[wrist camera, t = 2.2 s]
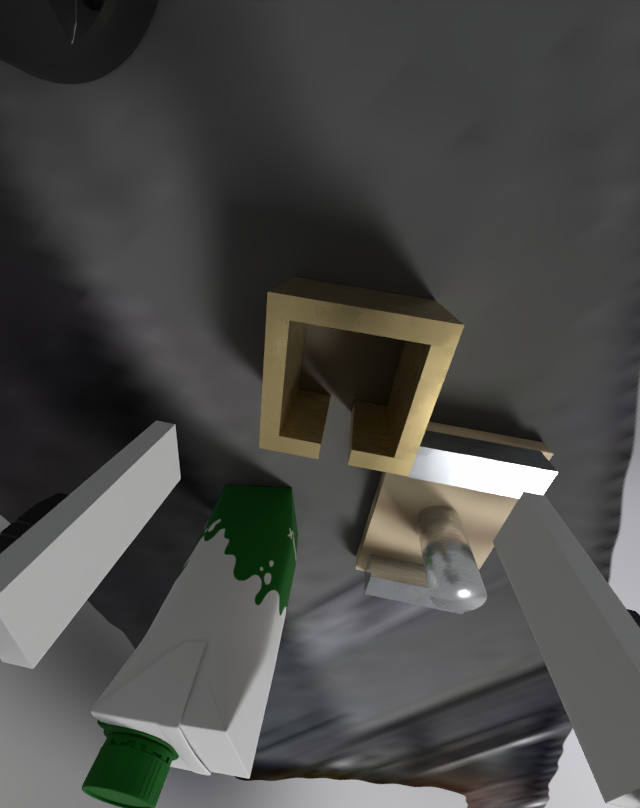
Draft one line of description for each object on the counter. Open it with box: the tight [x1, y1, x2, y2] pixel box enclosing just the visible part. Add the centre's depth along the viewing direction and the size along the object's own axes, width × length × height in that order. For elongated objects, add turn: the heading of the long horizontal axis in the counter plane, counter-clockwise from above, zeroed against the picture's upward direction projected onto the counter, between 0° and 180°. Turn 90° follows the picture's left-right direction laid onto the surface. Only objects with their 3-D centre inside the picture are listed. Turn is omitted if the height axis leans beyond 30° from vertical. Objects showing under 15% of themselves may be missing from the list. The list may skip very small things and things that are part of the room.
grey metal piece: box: [365, 430, 558, 614], centre depth 26 cm, size 19×10×7 cm, turn 172°
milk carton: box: [82, 485, 298, 808], centre depth 25 cm, size 9×9×20 cm
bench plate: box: [356, 421, 554, 571], centre depth 30 cm, size 19×12×2 cm, turn 172°
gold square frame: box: [259, 277, 464, 476], centre depth 21 cm, size 10×10×7 cm
